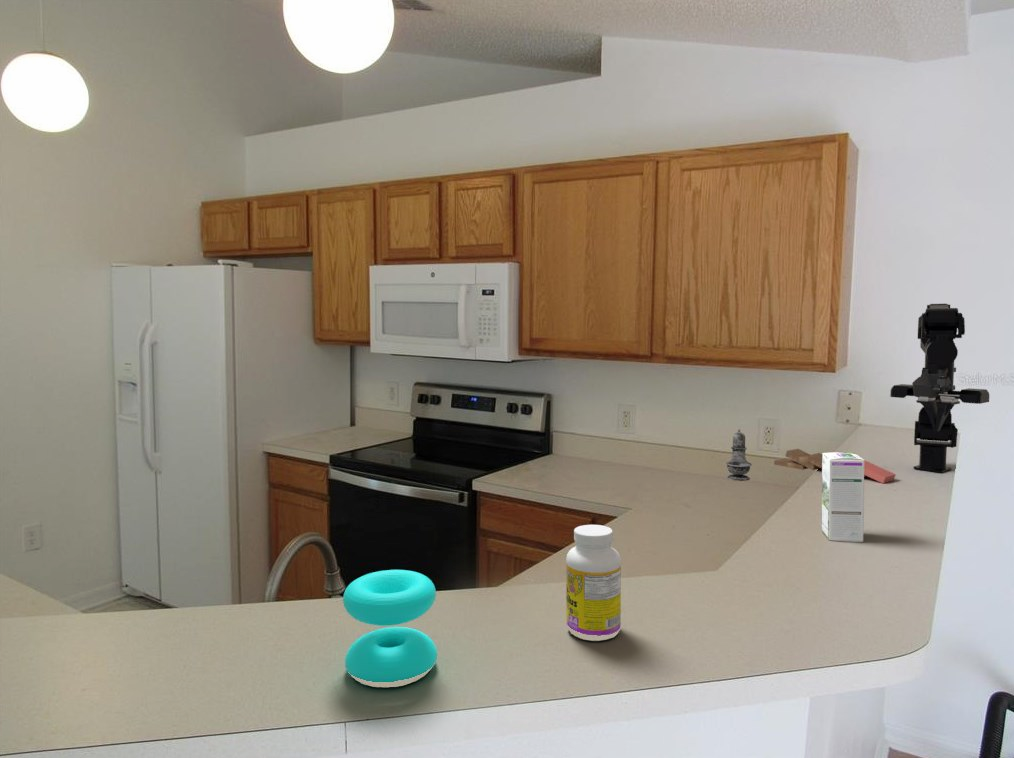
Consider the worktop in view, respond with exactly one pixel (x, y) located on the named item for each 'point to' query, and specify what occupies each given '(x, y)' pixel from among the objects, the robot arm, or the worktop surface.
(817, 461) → the domino
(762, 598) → the worktop surface
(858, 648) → the worktop surface
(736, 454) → the salt shaker
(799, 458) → the domino
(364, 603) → the teal rings
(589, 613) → the supplement bottle
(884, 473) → the domino
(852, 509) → the syrup box
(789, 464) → the domino
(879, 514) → the worktop surface
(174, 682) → the worktop surface
